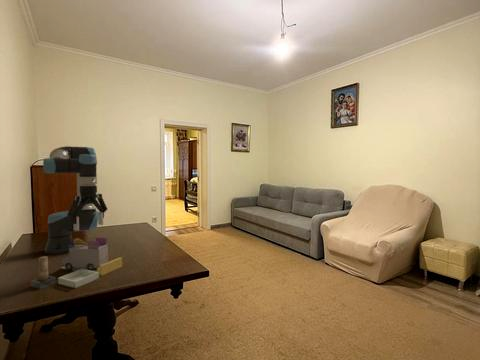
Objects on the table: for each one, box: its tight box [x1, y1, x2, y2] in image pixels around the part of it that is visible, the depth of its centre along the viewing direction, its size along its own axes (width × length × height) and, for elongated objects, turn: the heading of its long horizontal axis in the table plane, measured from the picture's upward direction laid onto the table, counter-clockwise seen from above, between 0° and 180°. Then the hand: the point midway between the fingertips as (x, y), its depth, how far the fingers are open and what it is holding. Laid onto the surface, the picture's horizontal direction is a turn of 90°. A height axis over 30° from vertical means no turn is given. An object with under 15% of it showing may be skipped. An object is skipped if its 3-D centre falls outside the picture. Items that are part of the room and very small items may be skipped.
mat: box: [60, 267, 101, 277], centre depth 132 cm, size 26×14×1 cm, turn 68°
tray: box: [57, 269, 100, 289], centre depth 115 cm, size 11×11×3 cm
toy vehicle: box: [60, 236, 110, 271], centre depth 130 cm, size 9×20×15 cm, turn 87°
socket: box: [30, 274, 57, 290], centre depth 112 cm, size 6×6×2 cm
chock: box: [97, 257, 123, 276], centre depth 127 cm, size 3×12×4 cm, turn 158°
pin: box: [38, 255, 49, 282], centre depth 112 cm, size 3×3×12 cm
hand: (89, 227), depth 130 cm, fingers open, 13 cm apart
